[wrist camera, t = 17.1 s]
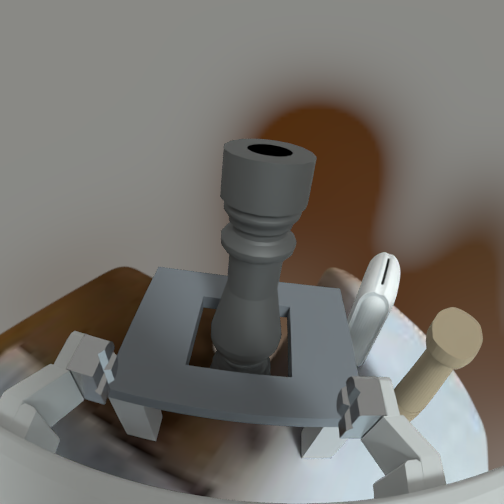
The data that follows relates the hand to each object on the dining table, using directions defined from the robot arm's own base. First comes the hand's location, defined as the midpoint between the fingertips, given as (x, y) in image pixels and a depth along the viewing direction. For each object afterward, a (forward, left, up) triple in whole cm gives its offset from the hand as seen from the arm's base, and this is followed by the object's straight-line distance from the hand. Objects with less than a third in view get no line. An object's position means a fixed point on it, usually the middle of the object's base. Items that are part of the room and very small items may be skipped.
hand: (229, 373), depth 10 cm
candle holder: (+1, +13, -21) cm, 25 cm away
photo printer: (+15, +22, -21) cm, 34 cm away
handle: (+17, +9, -21) cm, 29 cm away
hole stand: (0, +13, -21) cm, 25 cm away
